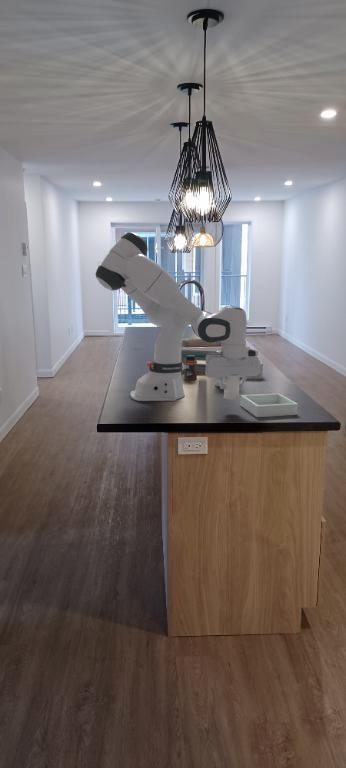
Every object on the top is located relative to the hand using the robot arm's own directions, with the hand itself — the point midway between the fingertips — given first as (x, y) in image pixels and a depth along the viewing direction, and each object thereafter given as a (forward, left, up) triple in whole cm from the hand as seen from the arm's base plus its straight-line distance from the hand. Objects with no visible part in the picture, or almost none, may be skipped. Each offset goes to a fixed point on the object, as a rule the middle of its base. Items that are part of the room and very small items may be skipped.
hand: (231, 388), depth 195 cm
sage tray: (+15, 0, -9) cm, 17 cm away
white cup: (0, 0, -4) cm, 4 cm away
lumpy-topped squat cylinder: (+30, +57, -9) cm, 65 cm away
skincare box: (+13, +41, -9) cm, 44 cm away
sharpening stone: (+13, +74, -9) cm, 76 cm away
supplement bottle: (+1, +57, -9) cm, 58 cm away
